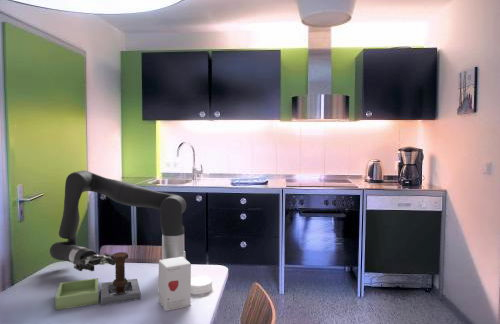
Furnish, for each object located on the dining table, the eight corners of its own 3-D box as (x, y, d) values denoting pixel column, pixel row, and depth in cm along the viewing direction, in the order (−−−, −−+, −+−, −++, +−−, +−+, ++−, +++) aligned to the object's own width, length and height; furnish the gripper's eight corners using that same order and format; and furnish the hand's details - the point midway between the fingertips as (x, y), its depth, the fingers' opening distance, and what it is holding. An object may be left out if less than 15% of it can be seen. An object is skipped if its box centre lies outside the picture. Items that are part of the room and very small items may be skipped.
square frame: (137, 284, 140) (137, 278, 140) (140, 299, 127) (140, 292, 127) (101, 289, 135) (101, 283, 135) (101, 305, 122) (101, 298, 122)
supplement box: (165, 312, 118) (165, 267, 117) (158, 301, 126) (157, 259, 125) (191, 306, 122) (191, 263, 121) (183, 296, 130) (182, 255, 129)
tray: (98, 288, 137) (98, 278, 136) (98, 303, 124) (97, 292, 123) (60, 293, 132) (59, 282, 131) (55, 309, 119) (55, 298, 118)
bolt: (122, 298, 128) (121, 257, 127) (109, 297, 129) (108, 256, 128) (130, 291, 133) (130, 252, 133) (118, 290, 134) (118, 251, 134)
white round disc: (205, 296, 130) (205, 287, 130) (181, 293, 133) (181, 284, 133) (216, 286, 140) (216, 277, 140) (193, 283, 143) (193, 274, 142)
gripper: (64, 252, 141) (86, 260, 131) (98, 244, 152) (120, 251, 143) (65, 270, 142) (86, 280, 132) (99, 261, 153) (120, 269, 143)
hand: (104, 265), depth 137 cm, fingers open, 8 cm apart
